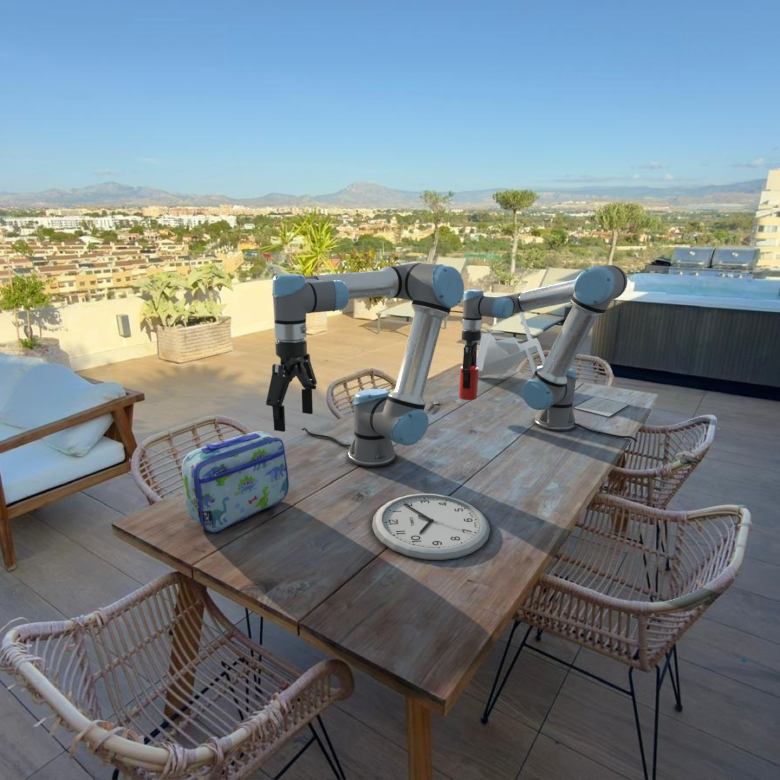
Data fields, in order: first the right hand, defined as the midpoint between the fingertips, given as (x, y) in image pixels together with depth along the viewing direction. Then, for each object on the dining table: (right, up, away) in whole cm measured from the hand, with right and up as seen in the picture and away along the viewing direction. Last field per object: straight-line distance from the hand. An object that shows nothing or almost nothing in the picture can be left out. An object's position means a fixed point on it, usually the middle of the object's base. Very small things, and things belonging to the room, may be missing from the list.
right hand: (468, 385), depth 212 cm
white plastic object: (+25, +1, +46) cm, 52 cm away
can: (0, -5, +1) cm, 5 cm away
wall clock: (-21, -37, -78) cm, 89 cm away
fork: (-13, -9, +10) cm, 19 cm away
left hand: (-56, -10, -79) cm, 98 cm away
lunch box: (-71, -35, -74) cm, 109 cm away
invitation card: (+60, -9, +14) cm, 62 cm away
